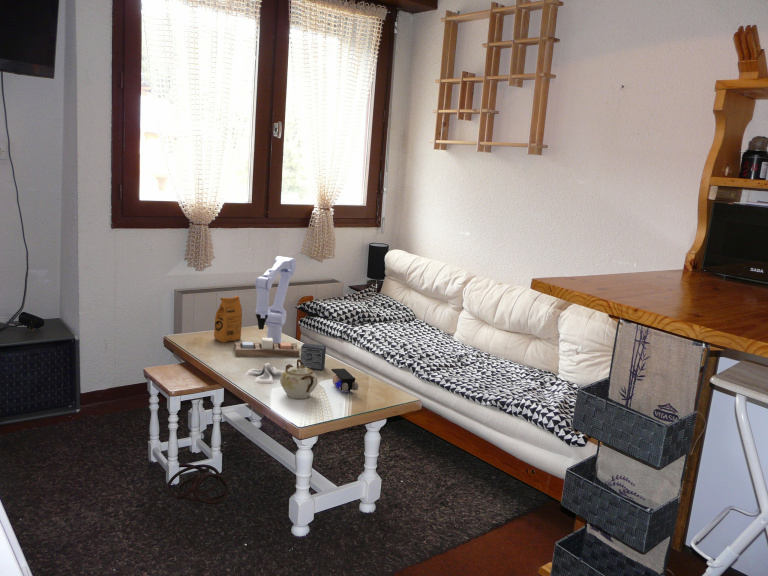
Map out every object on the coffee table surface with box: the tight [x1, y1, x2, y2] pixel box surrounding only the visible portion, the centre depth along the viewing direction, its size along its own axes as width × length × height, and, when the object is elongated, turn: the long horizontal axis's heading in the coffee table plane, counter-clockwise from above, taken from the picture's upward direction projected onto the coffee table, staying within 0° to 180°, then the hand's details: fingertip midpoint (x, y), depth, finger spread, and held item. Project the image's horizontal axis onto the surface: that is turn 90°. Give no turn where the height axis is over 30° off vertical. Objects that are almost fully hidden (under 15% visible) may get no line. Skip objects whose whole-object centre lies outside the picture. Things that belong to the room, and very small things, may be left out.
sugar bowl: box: [279, 358, 319, 400], centre depth 260 cm, size 20×15×15 cm
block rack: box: [233, 341, 301, 358], centre depth 313 cm, size 12×30×3 cm, turn 105°
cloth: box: [245, 362, 285, 384], centre depth 282 cm, size 22×19×6 cm
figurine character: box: [331, 368, 359, 396], centre depth 272 cm, size 7×8×15 cm
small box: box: [299, 342, 327, 372], centre depth 297 cm, size 11×6×10 cm, turn 84°
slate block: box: [242, 341, 254, 349], centre depth 311 cm, size 5×5×4 cm
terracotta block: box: [280, 342, 292, 349], centre depth 316 cm, size 5×5×4 cm
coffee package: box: [213, 295, 243, 343], centre depth 327 cm, size 10×12×22 cm
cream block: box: [260, 337, 273, 349], centre depth 313 cm, size 5×5×4 cm
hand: (260, 329), depth 315 cm, fingers closed
